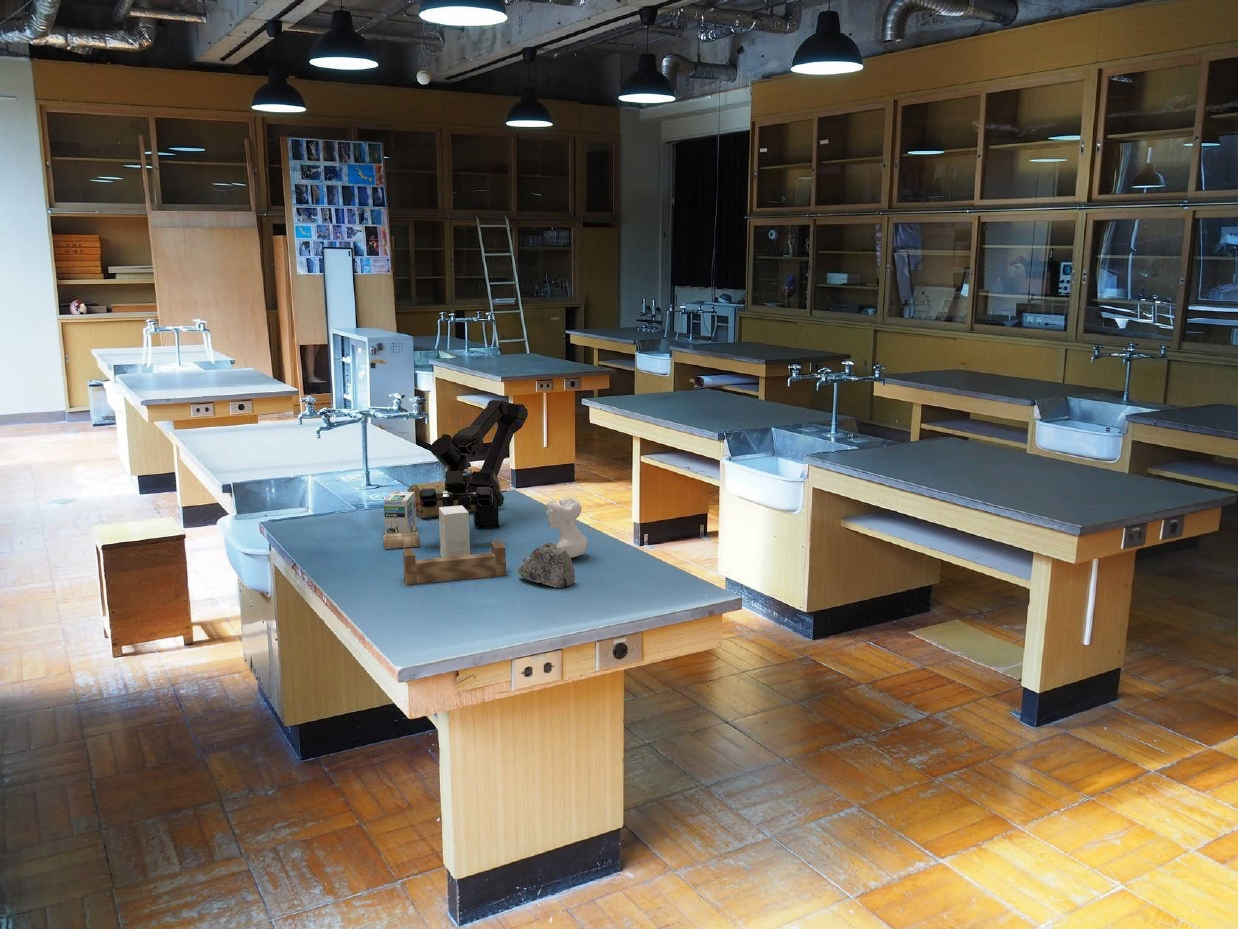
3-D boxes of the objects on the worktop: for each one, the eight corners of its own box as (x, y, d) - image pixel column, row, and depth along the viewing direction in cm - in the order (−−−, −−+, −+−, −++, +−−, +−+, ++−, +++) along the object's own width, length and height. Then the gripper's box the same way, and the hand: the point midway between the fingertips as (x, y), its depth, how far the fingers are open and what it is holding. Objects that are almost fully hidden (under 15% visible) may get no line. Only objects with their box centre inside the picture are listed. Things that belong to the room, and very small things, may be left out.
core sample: (405, 512, 311) (403, 480, 309) (486, 501, 324) (485, 469, 322) (421, 522, 299) (420, 489, 297) (505, 510, 312) (504, 478, 310)
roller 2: (419, 549, 275) (418, 540, 277) (420, 541, 273) (418, 533, 275) (385, 552, 273) (384, 543, 275) (385, 544, 270) (384, 536, 272)
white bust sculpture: (569, 565, 257) (568, 507, 254) (536, 557, 264) (534, 500, 261) (594, 556, 265) (593, 499, 262) (560, 549, 272) (559, 493, 268)
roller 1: (417, 543, 280) (417, 532, 280) (418, 543, 277) (418, 531, 277) (383, 546, 277) (383, 535, 277) (384, 545, 274) (383, 534, 275)
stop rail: (501, 568, 256) (500, 540, 254) (506, 575, 250) (505, 547, 249) (404, 577, 249) (402, 549, 248) (406, 584, 244) (405, 556, 242)
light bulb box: (409, 538, 282) (407, 500, 280) (384, 538, 282) (382, 500, 280) (417, 528, 293) (415, 491, 290) (393, 528, 293) (391, 491, 291)
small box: (471, 562, 261) (469, 512, 258) (446, 565, 259) (443, 514, 256) (464, 553, 268) (462, 504, 266) (440, 556, 266) (437, 507, 263)
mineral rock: (515, 578, 248) (514, 538, 246) (555, 571, 253) (555, 531, 251) (538, 593, 237) (537, 551, 235) (579, 586, 242) (579, 544, 240)
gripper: (418, 458, 269) (415, 510, 261) (490, 457, 270) (490, 508, 262) (423, 481, 278) (420, 532, 270) (493, 480, 280) (492, 530, 271)
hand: (455, 525), depth 268 cm, fingers closed
